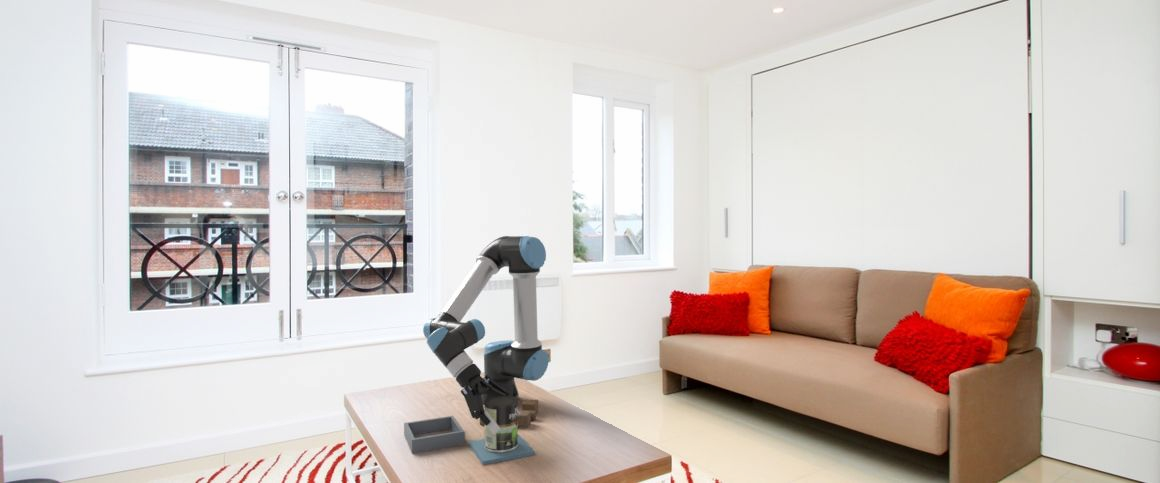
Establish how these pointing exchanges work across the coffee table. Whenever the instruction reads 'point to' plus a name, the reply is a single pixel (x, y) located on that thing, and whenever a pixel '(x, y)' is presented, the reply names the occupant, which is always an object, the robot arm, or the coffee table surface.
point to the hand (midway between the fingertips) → (507, 424)
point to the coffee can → (502, 423)
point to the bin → (436, 440)
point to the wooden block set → (526, 413)
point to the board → (493, 457)
